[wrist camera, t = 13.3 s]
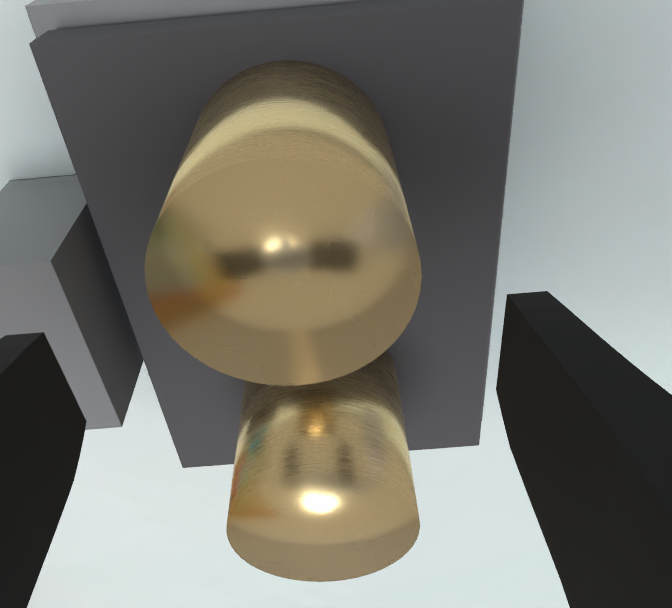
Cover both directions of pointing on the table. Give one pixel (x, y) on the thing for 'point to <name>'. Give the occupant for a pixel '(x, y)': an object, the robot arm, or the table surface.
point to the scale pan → (407, 148)
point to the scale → (87, 236)
